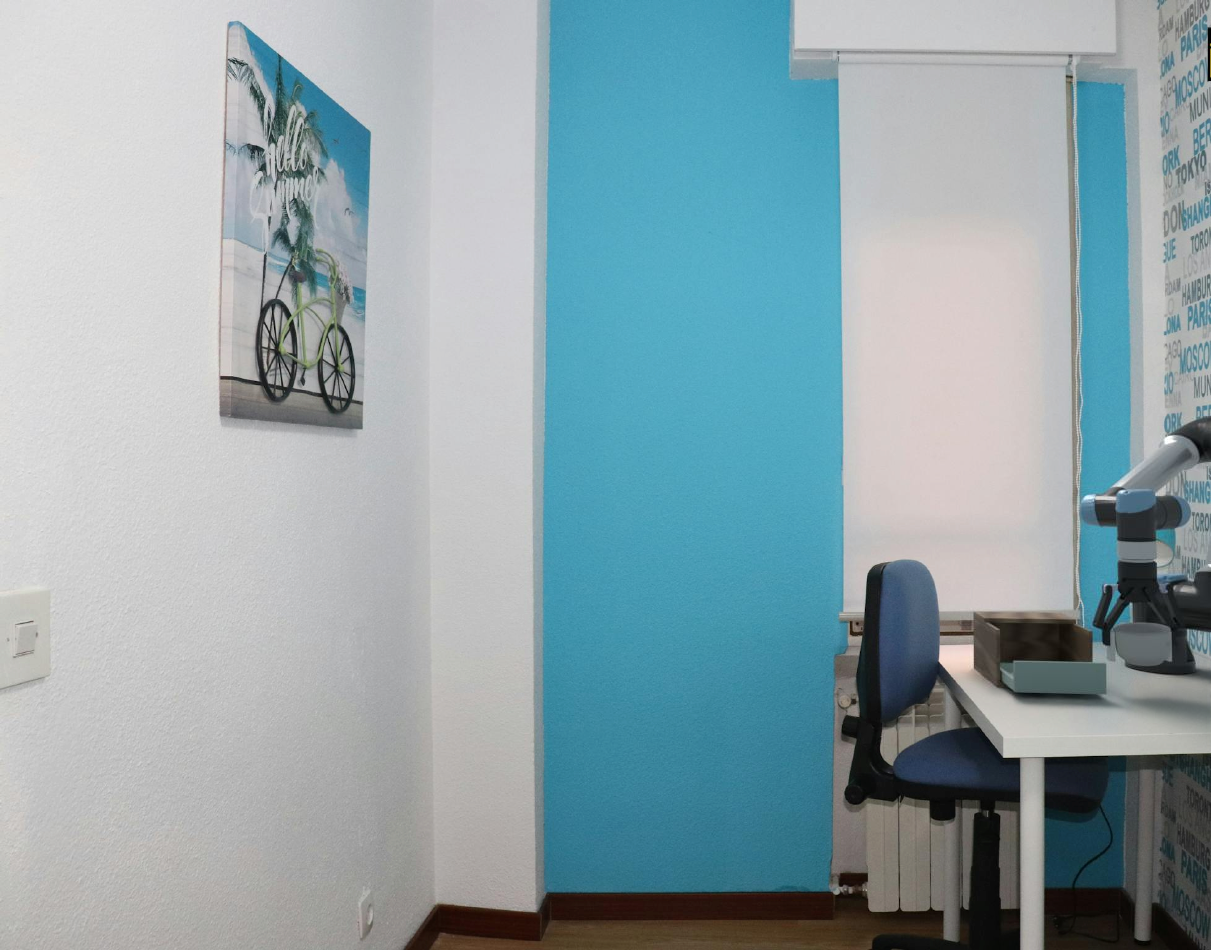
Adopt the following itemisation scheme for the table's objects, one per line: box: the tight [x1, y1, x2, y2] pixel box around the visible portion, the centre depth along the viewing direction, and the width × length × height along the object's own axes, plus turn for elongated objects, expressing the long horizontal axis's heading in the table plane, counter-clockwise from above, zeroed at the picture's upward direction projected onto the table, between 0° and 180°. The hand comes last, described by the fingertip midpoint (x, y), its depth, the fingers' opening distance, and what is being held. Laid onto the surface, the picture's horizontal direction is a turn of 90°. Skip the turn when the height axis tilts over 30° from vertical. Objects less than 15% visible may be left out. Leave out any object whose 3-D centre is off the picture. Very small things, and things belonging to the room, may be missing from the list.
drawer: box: [1000, 661, 1107, 695], centre depth 209 cm, size 19×20×7 cm
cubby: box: [973, 611, 1094, 688], centre depth 219 cm, size 21×20×14 cm
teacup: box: [1112, 621, 1171, 666], centre depth 203 cm, size 14×11×8 cm
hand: (1139, 660), depth 204 cm, fingers closed on teacup, 11 cm apart
